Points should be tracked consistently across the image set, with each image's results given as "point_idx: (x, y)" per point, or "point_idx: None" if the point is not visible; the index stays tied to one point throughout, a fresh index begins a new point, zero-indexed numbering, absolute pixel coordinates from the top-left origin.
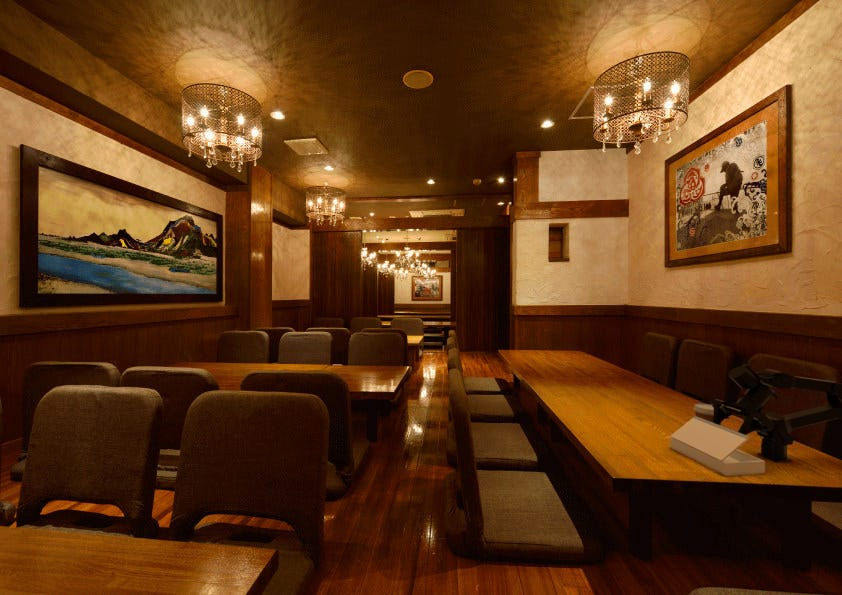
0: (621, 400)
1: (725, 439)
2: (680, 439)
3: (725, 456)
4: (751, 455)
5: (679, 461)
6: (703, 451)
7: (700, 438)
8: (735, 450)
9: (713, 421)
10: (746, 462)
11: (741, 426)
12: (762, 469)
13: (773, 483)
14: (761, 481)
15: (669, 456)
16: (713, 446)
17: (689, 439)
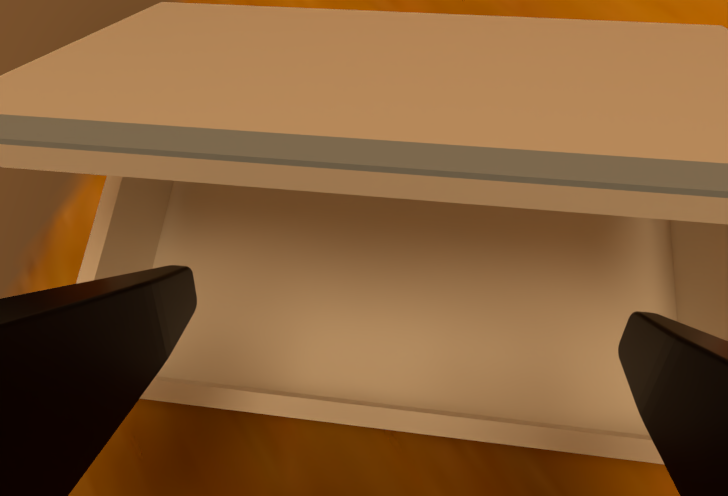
0: None
1: (199, 73)
2: (601, 23)
3: (138, 13)
4: (173, 399)
5: (434, 5)
6: (326, 10)
7: (457, 47)
8: (337, 402)
9: (717, 344)
10: (101, 199)
11: (39, 304)
12: None
13: (17, 287)
14: (64, 240)
15: (518, 3)
16: (276, 30)
17: (535, 32)
